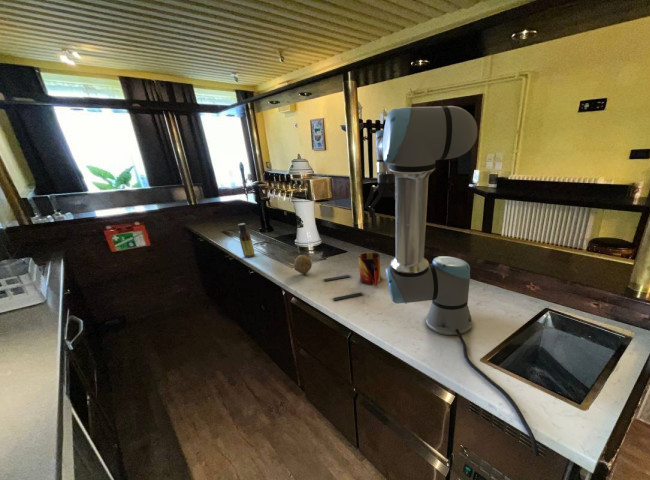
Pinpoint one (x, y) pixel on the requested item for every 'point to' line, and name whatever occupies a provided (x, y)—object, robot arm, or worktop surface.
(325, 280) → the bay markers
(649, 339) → the worktop surface
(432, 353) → the worktop surface
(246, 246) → the sauce bottle
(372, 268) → the mug
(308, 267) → the natural sponge
